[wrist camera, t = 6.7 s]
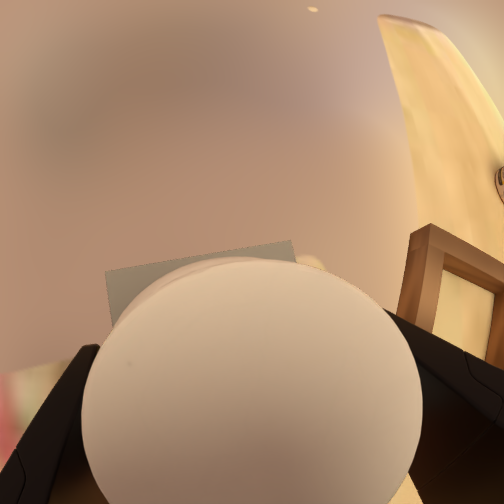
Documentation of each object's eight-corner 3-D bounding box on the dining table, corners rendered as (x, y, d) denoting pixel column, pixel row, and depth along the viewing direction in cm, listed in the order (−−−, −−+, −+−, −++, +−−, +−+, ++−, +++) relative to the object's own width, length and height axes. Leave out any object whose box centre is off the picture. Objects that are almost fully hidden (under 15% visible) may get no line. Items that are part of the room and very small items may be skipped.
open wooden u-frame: (469, 450, 18) (489, 456, 16) (356, 444, 17) (375, 456, 15) (505, 282, 22) (525, 277, 20) (410, 233, 21) (430, 223, 19)
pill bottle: (132, 324, 14) (-26, 293, 3) (256, 274, 15) (366, 144, 5) (187, 445, 13) (167, 624, 2) (308, 393, 14) (486, 472, 4)
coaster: (325, 416, 18) (328, 418, 17) (145, 453, 15) (144, 457, 15) (288, 242, 20) (291, 240, 19) (107, 273, 18) (105, 271, 17)
